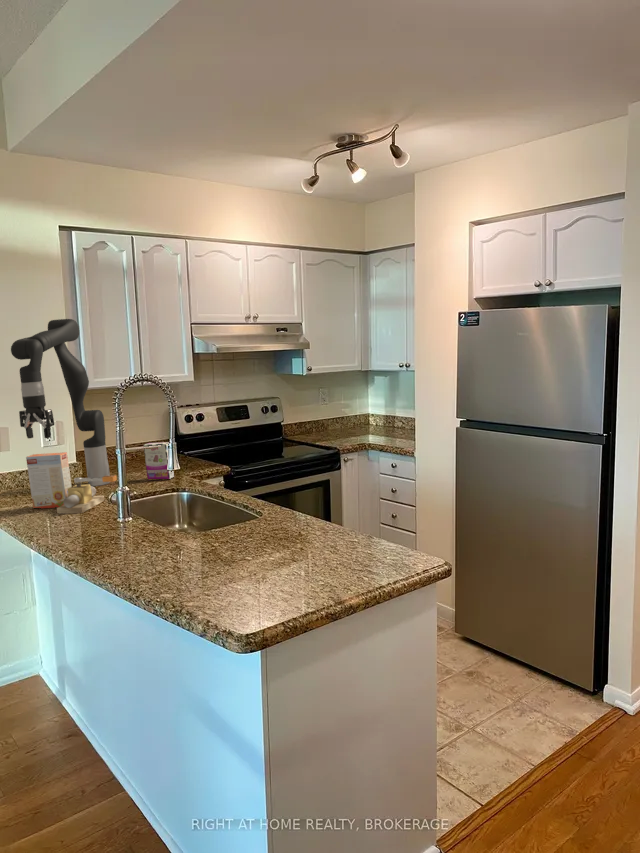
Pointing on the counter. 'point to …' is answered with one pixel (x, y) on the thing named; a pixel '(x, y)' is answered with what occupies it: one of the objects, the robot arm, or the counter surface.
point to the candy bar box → (157, 461)
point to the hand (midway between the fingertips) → (39, 438)
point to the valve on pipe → (80, 499)
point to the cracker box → (48, 479)
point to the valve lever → (96, 479)
